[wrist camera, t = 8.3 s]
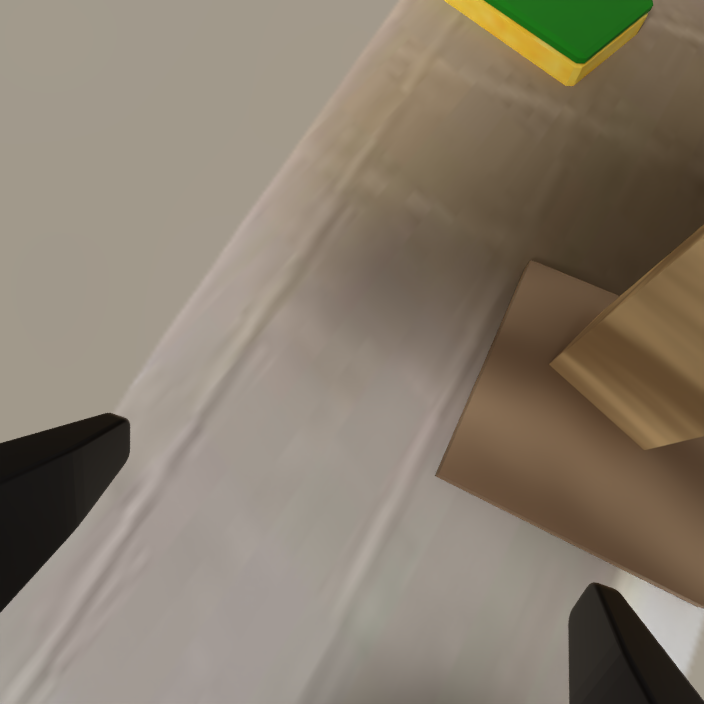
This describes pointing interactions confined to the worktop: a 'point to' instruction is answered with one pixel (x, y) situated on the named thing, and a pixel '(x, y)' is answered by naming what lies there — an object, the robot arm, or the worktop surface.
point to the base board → (575, 448)
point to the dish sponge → (560, 30)
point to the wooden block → (648, 352)
